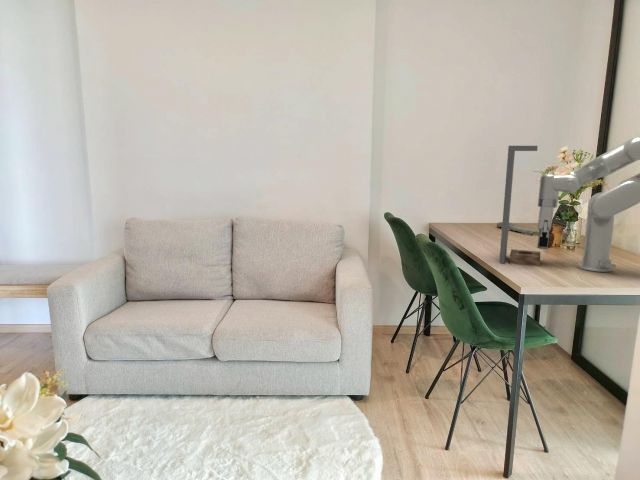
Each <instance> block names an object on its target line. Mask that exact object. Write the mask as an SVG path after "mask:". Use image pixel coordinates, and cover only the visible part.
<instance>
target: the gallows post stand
mask: <svg viewBox="0 0 640 480" xmlns="http://www.w3.org/2000/svg"><path fill="white" fill-rule="evenodd" d="M507 147H508V148H507V160H506V162H507V163H506V176H505V188H504V198H503V199H504V200H503V201H504V202H503V213H502V221H501V222H502V229H501V236H500V238H501V239H500V248H499V249H500V250H499V264H505V263H506V258H507V251H508V250H507V249H508V240H509V239H508V238H509V230H508V228H509V223H510V217H511V216H510V215H511V204H512V203H511V201H512V191H513V190H512V189H513V176H514V166H515V165H514V164H515V155H516V153H515V152H537V151H538V145H508V146H507Z"/></svg>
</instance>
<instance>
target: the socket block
mask: <svg viewBox="0 0 640 480" xmlns="http://www.w3.org/2000/svg"><path fill="white" fill-rule="evenodd" d="M508 263H509V264H514V265H525V266H534V267H540V266H541V251H536V250H535V251H534V250H525V249H524V250H523V249H515V248H514V249H512V248H511V249H510V253H509V262H508Z"/></svg>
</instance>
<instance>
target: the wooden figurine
mask: <svg viewBox="0 0 640 480" xmlns="http://www.w3.org/2000/svg"><path fill="white" fill-rule="evenodd" d="M553 231H554V226H553V225H551V229H550V231H549V239H548V248H551V247H552V246H553V245H554V242H555V234H554V233H553Z"/></svg>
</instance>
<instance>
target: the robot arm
mask: <svg viewBox="0 0 640 480" xmlns="http://www.w3.org/2000/svg"><path fill="white" fill-rule="evenodd" d="M637 161H640V136H636V137H633V138H630V139H629V140H627V141H625V142H623V143H621V144H620V145H617V146H616V147H614V148H612V149H610V150H608V151H606V152H604V153H602V154H600V155H599V156H597V157H595V158H594V159H591V161H589V162H587V163H586V164H584V165H582V166H579V167H578V168H576V169H574V170H573V171H570V172H569V173H567V174H565V175H564V174H562V175H561V174H560V175H559V174H555V173H544V174H541V176H540V181H539V182H540V183H539V190H538V199H537V207H538V208H539V211H538V220H537V231H539V229H541V237H540V241H539V246H541V247H547V244H548V230H550V229H551V226H552V224H553V216H554V210H555V209H557V208H558V202H559V201H558V200H559V195H560V194H559V193H560V192H561V193H566V194H567V193H568V194H574V193H575V192H577V191H578V190H579V189H580V188H581V187H583V186H585V185H587V184H589V183H592V182H594V181H595V180H598V179H600V178H601V179H602V178H605V177H607V176H610V175H612V174H614V173H616V172H617V171H620V170H621V169H623V168H626V167H628V166H629V165H631V164H633V163H635V162H637ZM638 204H640V172H639V173H637V174H634V175H633V176H631V177H629V178H626V179H624V180H622V181H620V182H619V183H618V185H616V186H614V187H612V188H610V189H608V190H607V191H602V192H597V193H595V194H594V195H592V196H591V197H589V200H588V205H587V216H586V224H585V225H586V226H585V235H584V244H583V251H582V252H583V253H582V262H578V264H577V267H578V268H579V269H581V270H584V271H589V272H598V273H607V272H608V273H609V272H612V271H613V270H614V268H617V267H616V264H614V263H612V260H611V259H610V257H611V246H612V238H613V231H614V224H615V222H614V221H615V216H616V215H618V214H620V213H621V212H624V211H626V210H628V209H630V208H632V207H634V206H636V205H638ZM554 208H555V209H554ZM542 229H544V230H542Z"/></svg>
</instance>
